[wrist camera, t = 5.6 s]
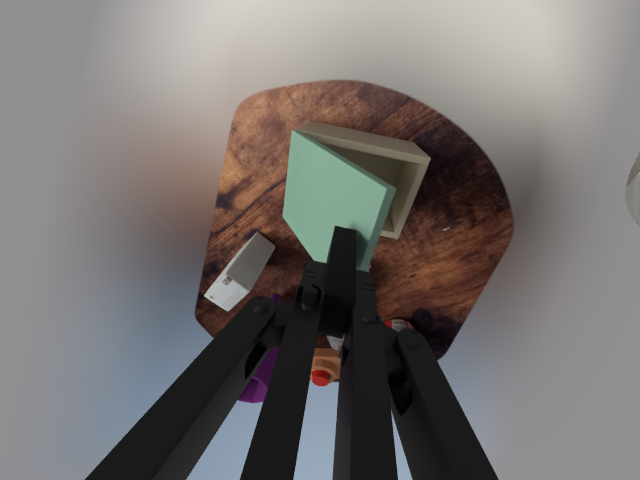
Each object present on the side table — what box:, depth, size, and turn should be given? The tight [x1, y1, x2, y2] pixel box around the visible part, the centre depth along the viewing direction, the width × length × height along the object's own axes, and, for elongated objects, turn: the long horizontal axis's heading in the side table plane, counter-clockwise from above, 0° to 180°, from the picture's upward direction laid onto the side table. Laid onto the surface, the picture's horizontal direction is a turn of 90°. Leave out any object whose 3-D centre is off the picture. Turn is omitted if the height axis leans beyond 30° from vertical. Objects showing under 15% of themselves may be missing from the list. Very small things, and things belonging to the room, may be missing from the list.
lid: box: [283, 130, 396, 272], centre depth 22 cm, size 14×10×1 cm
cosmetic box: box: [204, 232, 276, 311], centre depth 38 cm, size 6×4×12 cm
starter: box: [310, 348, 341, 383], centre depth 56 cm, size 10×8×4 cm
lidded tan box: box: [297, 121, 431, 239], centre depth 31 cm, size 14×10×9 cm
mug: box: [238, 293, 281, 403], centre depth 45 cm, size 9×16×15 cm, turn 163°
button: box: [312, 370, 329, 386], centre depth 54 cm, size 4×4×2 cm
